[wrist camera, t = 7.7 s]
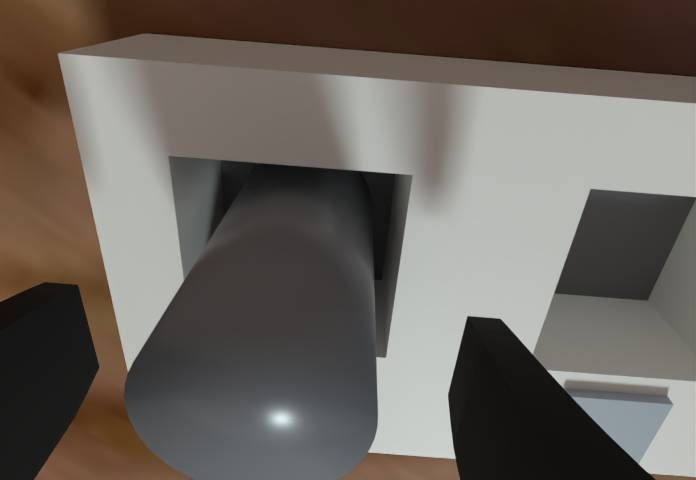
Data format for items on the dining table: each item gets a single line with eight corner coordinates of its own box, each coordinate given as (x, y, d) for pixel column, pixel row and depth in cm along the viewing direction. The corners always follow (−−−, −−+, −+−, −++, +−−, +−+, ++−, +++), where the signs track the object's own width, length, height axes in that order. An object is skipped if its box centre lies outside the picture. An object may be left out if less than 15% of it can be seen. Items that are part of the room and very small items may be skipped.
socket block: (813, 86, 12) (1005, 130, 9) (653, 381, 18) (730, 488, 14) (144, 33, 12) (48, 55, 9) (186, 346, 18) (137, 443, 14)
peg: (391, 171, 14) (418, 363, 7) (347, 277, 16) (332, 516, 9) (260, 125, 13) (140, 282, 6) (231, 241, 15) (112, 463, 8)
